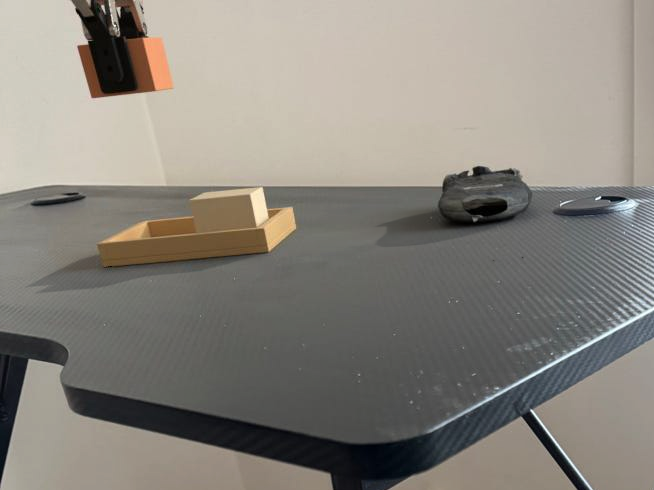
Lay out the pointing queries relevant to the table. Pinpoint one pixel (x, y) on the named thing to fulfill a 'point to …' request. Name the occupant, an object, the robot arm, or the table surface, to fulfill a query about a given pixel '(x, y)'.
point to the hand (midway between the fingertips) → (131, 88)
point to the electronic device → (497, 186)
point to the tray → (192, 240)
